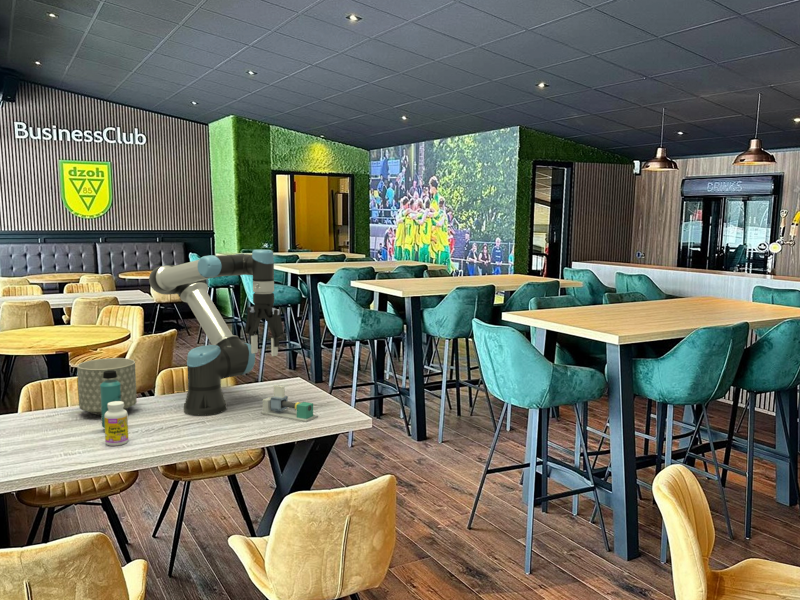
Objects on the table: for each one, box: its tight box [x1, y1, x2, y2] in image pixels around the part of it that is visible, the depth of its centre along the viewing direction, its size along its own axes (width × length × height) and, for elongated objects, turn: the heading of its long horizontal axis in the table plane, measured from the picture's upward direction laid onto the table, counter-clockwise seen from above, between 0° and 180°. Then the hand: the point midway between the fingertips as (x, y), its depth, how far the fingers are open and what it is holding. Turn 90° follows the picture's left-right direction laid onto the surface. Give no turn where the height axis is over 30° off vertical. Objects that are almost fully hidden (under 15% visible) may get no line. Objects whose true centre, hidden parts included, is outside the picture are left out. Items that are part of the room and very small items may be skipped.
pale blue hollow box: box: [270, 384, 289, 411], centre depth 236 cm, size 4×5×9 cm
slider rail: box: [260, 395, 319, 423], centre depth 235 cm, size 20×7×5 cm, turn 62°
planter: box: [76, 357, 137, 416], centre depth 236 cm, size 19×19×18 cm
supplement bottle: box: [104, 401, 129, 447], centre depth 204 cm, size 7×7×13 cm
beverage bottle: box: [100, 370, 121, 429], centre depth 216 cm, size 6×7×20 cm
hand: (264, 354), depth 238 cm, fingers open, 9 cm apart
